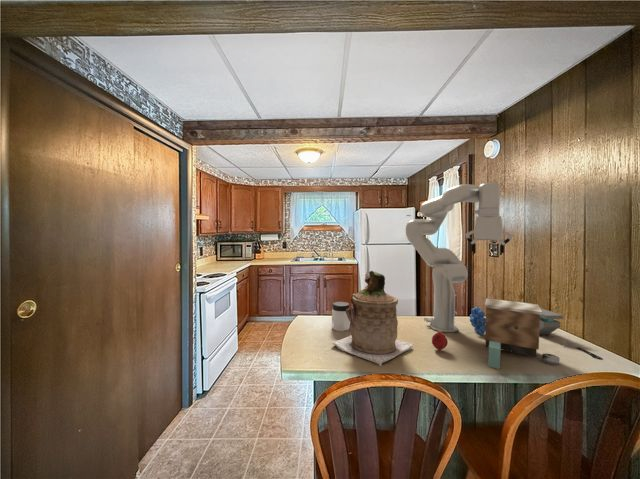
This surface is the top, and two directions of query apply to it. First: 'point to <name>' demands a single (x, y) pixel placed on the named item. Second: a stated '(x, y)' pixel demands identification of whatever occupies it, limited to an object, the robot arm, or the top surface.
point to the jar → (340, 316)
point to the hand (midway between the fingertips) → (487, 254)
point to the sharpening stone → (548, 321)
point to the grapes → (478, 320)
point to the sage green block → (494, 354)
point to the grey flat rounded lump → (550, 359)
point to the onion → (439, 340)
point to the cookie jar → (373, 323)
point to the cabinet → (513, 325)
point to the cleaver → (570, 345)
